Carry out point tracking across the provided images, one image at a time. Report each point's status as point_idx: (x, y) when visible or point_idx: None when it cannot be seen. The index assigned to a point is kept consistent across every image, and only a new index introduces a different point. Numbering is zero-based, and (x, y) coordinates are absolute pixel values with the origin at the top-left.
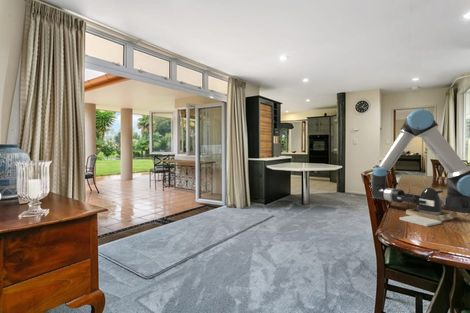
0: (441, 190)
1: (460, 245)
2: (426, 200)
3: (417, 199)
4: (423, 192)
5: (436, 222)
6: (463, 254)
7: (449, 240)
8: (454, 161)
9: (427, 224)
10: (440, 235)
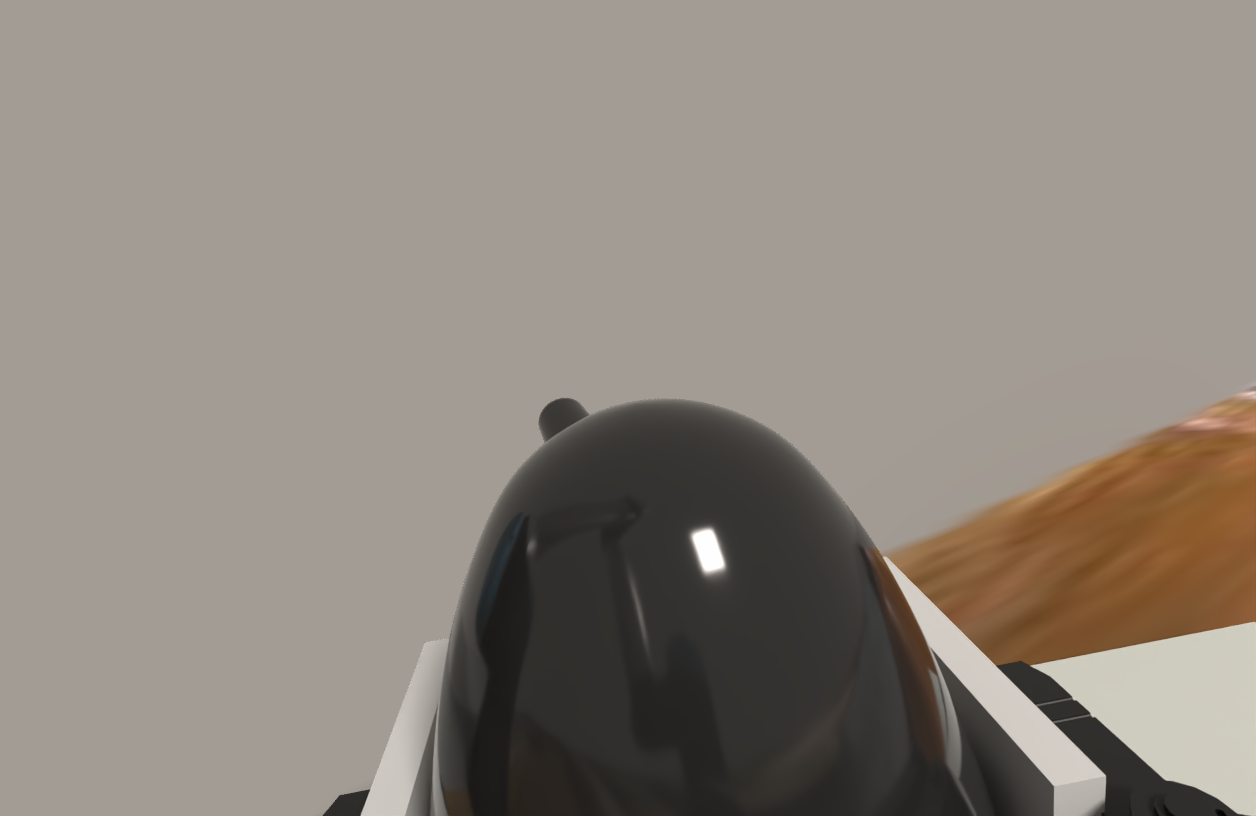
0: (575, 400)
1: (1179, 435)
2: (964, 647)
3: (1189, 803)
4: (890, 587)
5: (1042, 666)
6: (1243, 395)
7: (1207, 464)
8: None
9: (1242, 628)
10: (1227, 506)
